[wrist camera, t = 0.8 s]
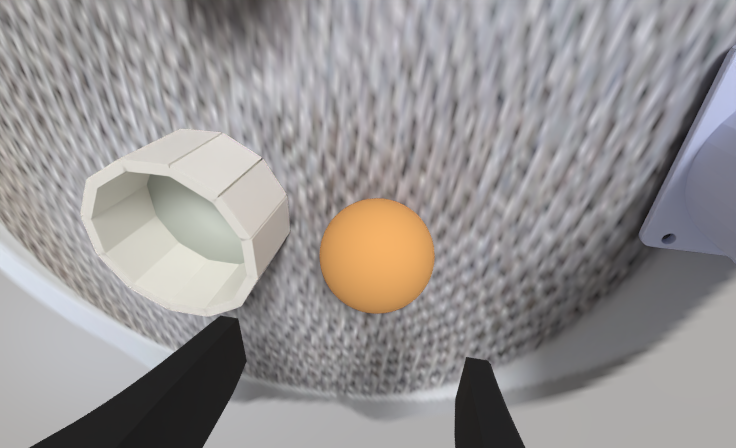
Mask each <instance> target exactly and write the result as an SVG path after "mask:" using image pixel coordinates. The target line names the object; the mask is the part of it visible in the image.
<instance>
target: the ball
mask: <svg viewBox="0 0 736 448" xmlns="http://www.w3.org/2000/svg"><path fill="white" fill-rule="evenodd" d="M434 258H435V256H434V245H433V241H432V238H431V235H430V233H429V230H428V229H427V227H426V225H425V224H424V222H423V221H422V220H421V218H420V217H419V216H418V215H417V214H416V213H415V212H413V211H412V210H411V209H409V208H408V207H406V206H405V205H403V204H401V203H398V202H396V201H392V200H388V199H380V198H374V199H366V200H361V201H358V202H356V203H353V204H351V205H349V206H347V207H346V208H344V209H343V210H342V211H341V212H340V213H338V214H337V215H336V216H335V217H334V218H333V220H332V221H331V222H330V224H329V225H328V227H327V229H326V230H325V233H324V236H323V238H322V242H321V247H320V266H321V270H322V273H323V277H324V279H325V281H326V283H327V285H328V286H329V288H330V290H331V291H332V292H333V293H334V294H335V295H336V297H337V298H339V299H340V300H341V301H342V302H343V303H345V304H346V305H348V306H350V307H352V308H354V309H356V310H359V311H362V312H366V313H376V314H379V313H387V312H392V311H396V310H398V309H400V308H403V307H405V306H406V305H408V304H410V303H411V302H412V301H413V300H415V299H416V298H417V297H418V296H419V295H420V294H421V293H422V291H423V290H424V288H425V287H426V285H427V284H428V282H429V279H430V277H431V274H432V271H433V266H434Z"/></svg>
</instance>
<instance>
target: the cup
mask: <svg viewBox="0 0 736 448" xmlns="http://www.w3.org/2000/svg"><path fill="white" fill-rule="evenodd" d="M261 158H262V157H260V156H259V155H257V154H256V153H254V152H252V151H251V150H249V149H248V148H246V147H245V146H243V145H242V144H240V143H238V142H237V141H235V140H234V139H232V138H231V137H229V136H227V135H226V134H224V133H223V134H222V132H212V131H202V130H192V129H179V130H177V131H175V132H173V133H171V134H169V135H167V136H165V137H163V138H161V139H159V140H156V141H154V142H152V143H150V144H148V145H146V146H144V147H142V148H140V149H138V150H136V151H134V152H132V153H130V154H128V155H126V156H124V157H122V158H120V159H118V160H116V161H114V162H113V163H111V164H110V165H108V166H106V167H105V168H103V169H102V170H100V171H98V172H97V173H95V174H94V175H92V176H90V177H89V178H87V180H86V184H85V190H84V196H83V201H82V207H81V213H80V214H81V218H82V221H83V223H84V226H85V228H86V230H87V233H88V235H89V237H90V240H91V242H92V244H93V247H94V249H95V251H96V254H99V255H98V256H99V257H100V258H101V259H102V260H103V262H104V263H105V264H106V265H107V266H108V267H109V268H110V269H111V270H112V271H113V272H114V273H115V274H116V275H117V276H118V277H119V278H120V279H121V280H122V281H123V282H124V283H125V284H126V285H127V286H128V287H131V288H130V289H132V290H133V291H135V292H137V293H139V294H141V295H142V296H144V297H146V298H148V299H150V300H152V301H153V302H155V303H157V304H159V305H161V306H162V307H164V308H166V309H170V310H171V311H177V312H183V313H189V314H195V315H201V316H206V317H208V316H209V317H210V316H213V315H216V314H219V313H223V312H226V311H229V310H232V309H235V308H238V307H241V306H242V305H243V303H244V302H245V300H246V299H247V297H248V296H249V294H250V293H251V291H252V290H253V288H254V287H255V285H256V284H257V282H258V281H259V279H260V278H261V276H262V275H263V273H264V272H265V270H266V269H267V267H268V266H269V264H270V263H271V261H272V260H273V258H274V257H275V255H276V254H277V252H278V250H279V249H280V247H281V246H282V244H283V242H284V241H285V239H286V238H287V236H288V234H289V233H290V222H289V210H288V199H287V196H286V195H287V194H286V193H285V191H284V190H283V188H282V187H281V185H280V184H279V182H278V181H277V179H276V177H275V176H274V174H273V173H272V171H271V170H270V168H269V167H268V165H267V164H266V162H265V161H264V159H262V160H261Z"/></svg>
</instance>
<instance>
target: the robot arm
mask: <svg viewBox="0 0 736 448" xmlns="http://www.w3.org/2000/svg"><path fill="white" fill-rule="evenodd" d="M667 234H671V235H670V237H668V238H666V239H662V237H663V236H664V235H667ZM639 238H640V240H641V241H642V242H643V243H644V244H645V245H647V246H650V247H658V248H666V249H674V250H682V251H690V252H699V253H707V254H715V255H723V256H728V257H729V258H730V259H731V260H732V261H733V262H734V263H736V45H734V46H733V47H732V48H731V49H730V51H729V52H728V53H727V55H726V57H725V59H724V61H723V63H722V65H721V67H720V69H719V71H718V73H717V76H716V78H715V80H714V82H713V84H712V86H711V88H710V90H709V92H708V94H707V96H706V98H705V100H704V102H703V104H702V106H701V108H700V110H699V112H698V114H697V116H696V118H695V120H694V122H693V124H692V126H691V128H690V130H689V132H688V134H687V136H686V138H685V140H684V142H683V144H682V146H681V148H680V150H679V152H678V154H677V156H676V159H675V161H674V163H673V165H672V167H671V169H670V171H669V173H668V175H667V177H666V179H665V181H664V183H663V185H662V187H661V189H660V191H659V193H658V195H657V197H656V199H655V201H654V203H653V205H652V207H651V209H650V211H649V213H648V215H647V217H646V219H645V221H644V223H643V225H642V227H641V229H640V231H639ZM246 361H247V360H246V355H245V350H244V345H243V340H242V335H241V330H240V325H239V320H238V318H232V317H226V316H219V317H218V318H217V319H216V320H214V321H213V322H212V323H210V324H209V325H208V326H207V327H205V328H204V329H203V330H202V331H200V332H199V333H198V334H197V335H196V336H194V337H193V338H192V339H191V340H189V341H188V342H187V343H186V344H184V345H183V346H182V347H181V348H179V349H178V350H177V351H176V352H174V353H173V354H172V355H170V356H169V357H168V358H167V359H165V360H164V361H163V362H161V363H160V364H159V365H158V366H156V367H155V368H154V369H152V370H151V371H150V372H148V373H147V374H146V375H144V376H143V377H141V378H140V379H139V380H137V381H136V382H135V383H133V384H132V385H131V386H129V387H127V388H126V389H125V390H123V391H122V392H120V393H119V394H117V395H116V396H114V397H113V398H112V399H110V400H109V401H107V402H106V403H104V404H102V405H101V406H99V407H98V408H96V409H95V410H93V411H91V412H90V413H88V414H87V415H85V416H84V417H82V418H80V419H79V420H77V421H76V422H74V423H72V424H70V425H68V426H67V427H65V428H63V429H61V430H60V431H58V432H56V433H54V434H53V435H51V436H49V437H47V438H46V439H44V440H42V441H40V442H39V443H37V444H35V445H34V446H31V447H30V448H203V446H204V444H205V442H206V441H207V439H208V437H209V435H210V433H211V432H212V430H213V428H214V426H215V425H216V423H217V421H218V419H219V418H220V416H221V414H222V412H223V410H224V409H225V407H226V405H227V403H228V401H229V400H230V398H231V396H232V394H233V392H234V390H235V388H236V385H237V383H238V381H239V379H240V376H241V374H242V371H243V369H244V366H245V364H246ZM455 448H525V446H524V444H523V442H522V440H521V438H520V435H519V433H518V431H517V429H516V427H515V425H514V422H513V420H512V418H511V416H510V413H509V411H508V409H507V406H506V404H505V402H504V399H503V397H502V394H501V392H500V389H499V387H498V384H497V381H496V379H495V376H494V373H493V370H492V367H491V364H490V363H489V362H488V361H487V360H481V359H475V358H469V357H466V361H465V364H464V368H463V372H462V376H461V380H460V384H459V387H458V391H457V395H456V399H455Z"/></svg>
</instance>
